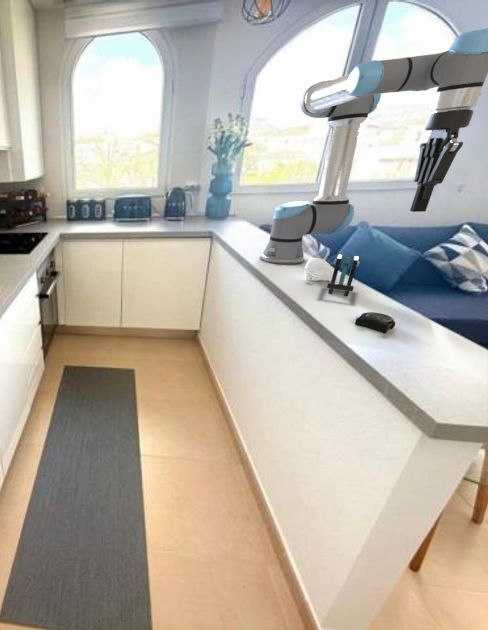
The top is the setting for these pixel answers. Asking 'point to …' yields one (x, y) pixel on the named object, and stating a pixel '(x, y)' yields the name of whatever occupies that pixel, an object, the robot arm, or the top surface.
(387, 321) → the tape measure
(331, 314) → the top surface
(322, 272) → the white lumpy piece
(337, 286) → the lever
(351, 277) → the bracket
